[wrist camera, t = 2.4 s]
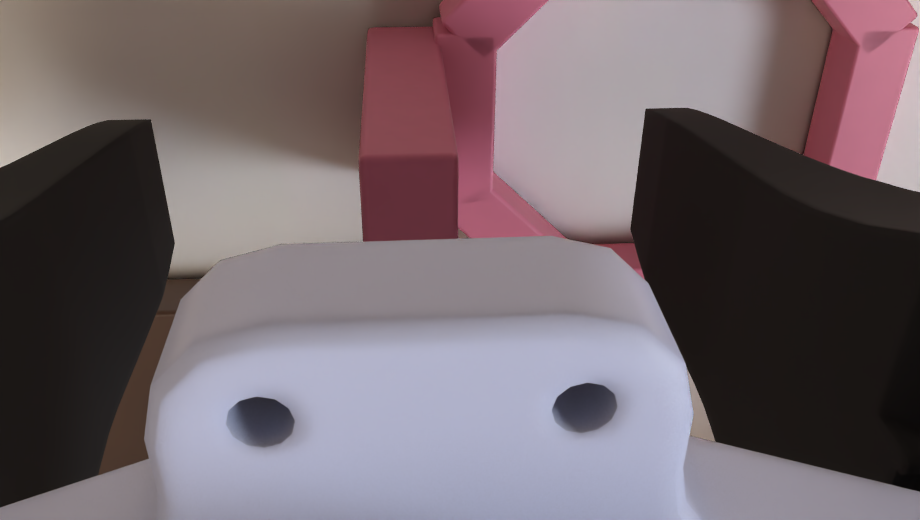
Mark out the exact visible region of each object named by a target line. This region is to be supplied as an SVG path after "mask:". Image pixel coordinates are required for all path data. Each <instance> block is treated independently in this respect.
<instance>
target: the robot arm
mask: <svg viewBox="0 0 920 520" xmlns="http://www.w3.org/2000/svg"><path fill="white" fill-rule="evenodd" d="M631 233H632V237H633V240H634V244H635V248H636V252H637V256H638V259H639V262H640V266H641V269H642V272H643V275H644V279H645V280H644V279H643V278H642V277H641V276H640V275H639V274H638V273H637V272H636V271H635V270H634V269H632V268H631V267H630V266H629V265H628V264H627V263H626V262H625V261H624V260H623V259H622V258H621V257H620V256H618V255H617V254H616V253H615V252H614V251H613V250H612V249H611V248H608V247H603V246H598V245H594V244H589V243H584V242H579V241H574V240H569V239H564V238H560V237H555V236H530V237H497V238H465V239H432V240H400V241H367V242H335V243H302V244H279V245H276V246H272V247H268V248H264V249H261V250H257V251H253V252H249V253H246V254H242V255H238V256H234V257H230V258H227V259H223V260H219V262H218V263H217V264H216V265H215V266H214V267H213V268H212V269H211V270H210V271H209V272H208V273H207V274H206V275H205V276H204V277H203V278H202V279H201V280H200V281H199V282H198V283H197V284H196V285H195V286H194V287H193V288H192V289H191V290H190V291H189V292H188V293H187V294H186V295H185V296H184V297H183V298H182V299H181V300H180V303H179V306H178V309H177V311H176V314H175V317H174V320H173V323H172V326H171V329H170V331H169V334H168V337H167V340H166V343H165V346H164V349H163V351H162V354H161V357H160V360H159V363H158V366H157V368H156V371H155V374H154V377H153V380H152V383H151V386H150V393H149V401H148V409H147V418H146V426H145V435H144V441H145V445H146V449H147V453H148V457H149V459H146V460H143V461H140V462H137V463H134V464H131V465H128V466H125V467H122V468H119V469H116V470H113V471H110V472H107V473H104V474H101V475H98V474H99V470H100V466H101V462H102V459H103V455H104V451H105V447H106V443H107V439H108V436H109V432H110V429H111V426H112V424H113V421H114V418H115V415H116V412H117V409H118V406H119V404H120V402H121V399H122V397H123V394H124V392H125V389H126V387H127V385H128V382H129V380H130V377H131V375H132V372H133V370H134V367H135V365H136V363H137V360H138V358H139V355H140V353H141V350H142V348H143V346H144V343H145V341H146V338H147V336H148V333H149V331H150V328H151V326H152V323H153V321H154V318H155V316H156V313H157V311H158V308H159V306H160V303H161V300H162V298H163V295H164V291H165V286H166V282H167V278H168V274H169V269H170V264H171V259H172V254H173V249H174V244H175V242H174V237H173V232H172V227H171V221H170V216H169V211H168V206H167V201H166V195H165V190H164V185H163V180H162V175H161V170H160V164H159V159H158V154H157V149H156V144H155V139H154V133H153V128H152V123H151V119H145V120H107V121H103V122H98V123H95V124H92V125H90V126H87V127H85V128H83V129H80V130H78V131H76V132H74V133H72V134H69V135H67V136H65V137H63V138H61V139H59V140H57V141H55V142H53V143H51V144H49V145H47V146H45V147H43V148H41V149H39V150H37V151H35V152H33V153H31V154H28V155H26V156H24V157H22V158H20V159H18V160H16V161H14V162H12V163H10V164H8V165H6V166H3V167H1V168H0V520H920V192H916V191H912V190H907V189H903V188H900V187H896V186H893V185H889V184H886V183H883V182H879V181H876V180H872V179H869V178H865V177H862V176H859V175H856V174H853V173H850V172H847V171H844V170H841V169H838V168H835V167H833V166H830V165H828V164H825V163H822V162H820V161H817V160H814V159H812V158H809V157H807V156H804V155H802V154H799V153H797V152H794V151H792V150H790V149H787V148H785V147H783V146H780V145H778V144H776V143H773V142H771V141H769V140H767V139H764V138H762V137H760V136H758V135H755V134H753V133H751V132H749V131H747V130H744V129H742V128H740V127H738V126H735V125H733V124H731V123H729V122H726V121H724V120H722V119H719V118H717V117H714V116H712V115H709V114H707V113H704V112H701V111H698V110H694V109H689V108H660V109H646V111H645V118H644V126H643V134H642V142H641V150H640V158H639V166H638V173H637V181H636V189H635V197H634V205H633V213H632V221H631ZM686 367H687V368H686ZM687 369H688V371H689V373H690V375H691V377H692V379H693V382H694V384H695V386H696V388H697V391H698V393H699V396H700V398H701V400H702V403H703V405H704V408H705V411H706V414H707V417H708V420H709V423H710V426H711V429H712V432H713V435H714V438H715V441H716V442H714V441H710V440H706V439H701V438H697V437H693V436H689V435H690V430H691V425H692V420H693V415H694V413H693V407H692V400H691V394H690V387H689V381H688V374H687Z"/></svg>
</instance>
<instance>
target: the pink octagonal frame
mask: <svg viewBox="0 0 920 520" xmlns="http://www.w3.org/2000/svg"><path fill="white" fill-rule="evenodd" d="M547 1H548V0H443V1H442V2H441V3H440V5H439V10H440V16H441V17H436V18H434V19H433V27H372V28H370V29H368V32H367V45H366V59H365V74H364V88H363V102H362V117H361V131H360V145H359V160H358V163H359V179H360V196H361V213H362V229H363V242H367V241H400V240H432V239H458V229H460V230H461V231H462V232H463V233H464V234H466V235H467V236H468V237H469V238H497V237H530V236H555V237H560V238H564V239H567V238H566V237H564V236H563V235H562V234H561V233H560V232H559V231H558V230H557V229H556V228H554V227H553V226H552V225H551V224H550V223H549V222H548V221H547V220H546V219H545V218H543V217H542V216H541V215H540V214H539V213H538V212H537V211H536V210H535V209H534V208H532V207H531V206H530V205H529V204H528V203H527V202H526V201H525V200H524V199H523V198H521V197H520V196H519V195H518V194H517V193H516V192H515V191H514V190H513V189H512V188H510V187H509V186H508V185H507V184H506V183H505V182H504V181H503V180H502V179H501V178H499V177H498V176H497V175H496V174H495V173H494V172H493V159H494V125H495V91H496V58H497V50H498V49H499V48H500V47H501V46H502V45H503V44H504V43H505V42H506V41H507V40H508V39H509V38H510V37H511V36H512V35H513V34H514V33H515V32H516V31H517V30H518V29H519V28H521V27H522V26H523V25H524V24H525V23H526V22H527V21H528V20H529V19H530V18H531V17H532V16H533V15H534V14H535V13H536V12H537V11H538V10H539V9H540V8H541V7H542V6H543V5H544V4H545V3H546V2H547ZM811 1H812V2H813V4H814V5H815V6H816V7H817V9H818V10H819V11H820V13H821V14H822V15H823V17H824V18H825V19H826V21H827V22H828V23H829V25H830V26H831V27H832V29H833V31H832V36H831V40H830V44H829V48H828V53H827V57H826V61H825V65H824V70H823V74H822V78H821V83H820V87H819V91H818V95H817V100H816V104H815V108H814V112H813V117H812V121H811V125H810V129H809V134H808V138H807V142H806V147H805V151H804V156H807V157H809V158H812V159H814V160H817V161H820V162H822V163H825V164H828V165H830V166H833V167H835V168H838V169H841V170H844V171H847V172H850V173H853V174H856V175H859V176H862V177H865V178H869V179H872V180H876V178H877V174H878V171H879V167H880V164H881V160H882V157H883V154H884V150H885V147H886V143H887V140H888V136H889V133H890V129H891V126H892V122H893V119H894V115H895V112H896V108H897V105H898V101H899V98H900V94H901V91H902V87H903V84H904V80H905V77H906V73H907V70H908V66H909V63H910V59H911V56H912V52H913V49H914V45H915V42H916V38H917V35H918V31H919V28H918V27H917V26H915V25H913V24H912V23H910V22H912V21H913V20H914V19H915V18H916V17H917V13H916V11H915V10H914V8H913V7H912V6H911V4H910V3H909V1H908V0H811ZM594 245H598V246H603V247H608V248H611V249H612V250H613V251H614V252H615V253H616V254H617V255H618V256H620V257H621V258H622V259H623V260H624V261H625V262H626V263H627V264H628V265H629V266H630V267H631V268H632V269H634V270H635V271H636V272H637V273H638V274H639V275H640V276H641V277H642V278H643V279H644V275H643V272H642V269H641V266H640V262H639V259H638V256H637V252H636V248H635V244H634V243H618V244H594ZM644 280H645V279H644Z"/></svg>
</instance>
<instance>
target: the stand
mask: <svg viewBox="0 0 920 520" xmlns="http://www.w3.org/2000/svg"><path fill="white" fill-rule="evenodd" d="M200 280H201V279H171V280H167V282H166V286H165V291H164V295H163V298H162V300H161V303H160V306H159V308H158V311H157V313H156V316H155V318H154V321H153V323H152V326H151V328H150V331H149V333H148V336H147V338H146V341H145V343H144V346H143V348H142V350H141V353H140V355H139V358H138V360H137V363H136V365H135V367H134V370H133V372H132V375H131V377H130V380H129V382H128V385H127V387H126V389H125V392H124V394H123V397H122V399H121V402H120V404H119V406H118V409H117V412H116V415H115V418H114V421H113V424H112V426H111V429H110V432H109V436H108V439H107V443H106V447H105V451H104V455H103V459H102V462H101V466H100V470H99V474H98V475H101V474H104V473H107V472H110V471H113V470H116V469H119V468H122V467H125V466H128V465H131V464H134V463H137V462H140V461H143V460H146V459H149V457H148V453H147V449H146V445H145V441H144V435H145V426H146V418H147V409H148V401H149V393H150V386H151V383H152V380H153V377H154V374H155V371H156V368H157V366H158V363H159V360H160V357H161V354H162V351H163V349H164V346H165V343H166V340H167V337H168V334H169V331H170V329H171V326H172V323H173V320H174V317H175V314H176V311H177V309H178V306H179V303H180V300H181V299H182V298H183V297H184V296H185V295H186V294H187V293H188V292H189V291H190V290H191V289H192V288H193V287H194V286H195V285H196V284H197V283H198V282H199V281H200Z"/></svg>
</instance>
